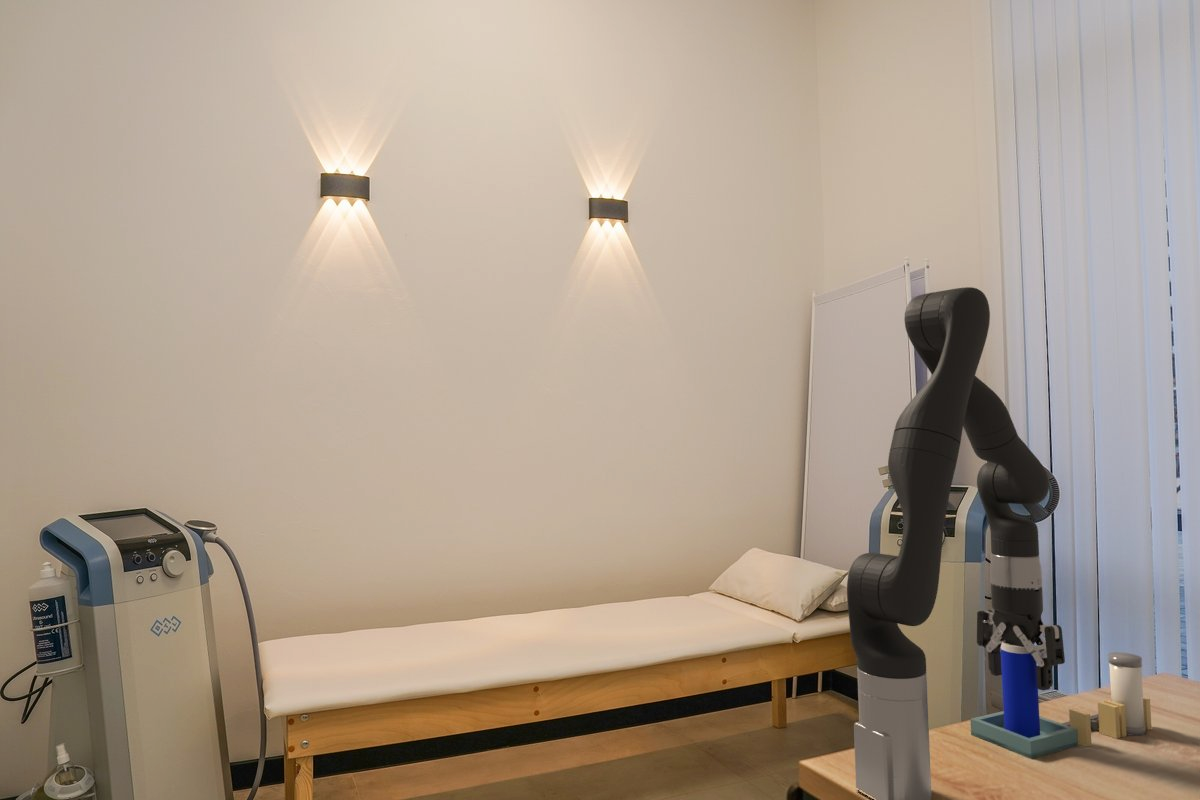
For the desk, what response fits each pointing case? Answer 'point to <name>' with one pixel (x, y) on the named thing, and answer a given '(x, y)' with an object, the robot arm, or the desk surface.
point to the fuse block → (1104, 720)
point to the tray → (1047, 742)
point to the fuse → (1128, 689)
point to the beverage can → (1019, 690)
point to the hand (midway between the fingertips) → (1020, 681)
